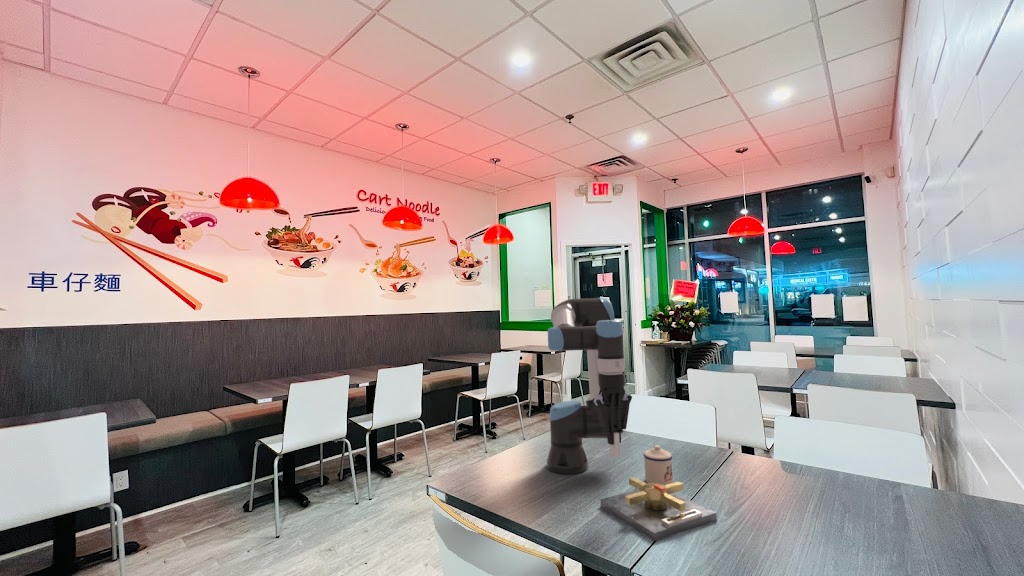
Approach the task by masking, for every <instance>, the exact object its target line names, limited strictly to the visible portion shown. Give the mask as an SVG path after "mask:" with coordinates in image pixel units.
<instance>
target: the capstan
mask: <svg viewBox="0 0 1024 576" xmlns="http://www.w3.org/2000/svg"><path fill="white" fill-rule="evenodd" d="M628 484H629V486H631V487H633V488H635V489H636V490H638V489H639V490H641V491H642V492H638V493H634V494H631V495H627V496H625V503H627V504H629V505H632V504H636V503H639V502H643V501H645V506H646V507H648V508H650V509H653V510H663V509H666V508H667V504H668V505H670V506H672V507H674V508H676V509H677V510H679V511H683V510H686V508H685V502H683V501H681V500H679V499H677V498H675V497H673V496H671V495H669V494H671V493H678V492H681V491H684V483H683V482H681V481H675V482H672V483H671V484H667V485H662V484H658V483H647V482H645V481H642V480H640V479H638V478H636V477H634V476H633V477H630V478H628Z"/></svg>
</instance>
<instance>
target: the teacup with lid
mask: <svg viewBox="0 0 1024 576" xmlns="http://www.w3.org/2000/svg"><path fill="white" fill-rule="evenodd" d="M653 447H654V448H653ZM653 447H652V448H651V449H648V450H647V449H646V450H645V451H644V452H643V457H644V475H645V476H644V478H645V483H646V484H647V483H658V484H662V485H667V484H671V483H674V481H673V462H672V461H673V460H672V458H673V456H672V454H671V452H669V451H667V450H665V449H663V448H661V446H660V445H654V446H653Z"/></svg>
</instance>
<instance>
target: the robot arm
mask: <svg viewBox="0 0 1024 576" xmlns="http://www.w3.org/2000/svg"><path fill="white" fill-rule="evenodd" d="M551 310H552V311H551V314H550V321H551V324H552V325H553V327H552V326H551V327H549V328H547V347H548V350H549V351H555V352H556V351H558V352H564V351H566V352H567V351H568V352H569V351H586V354H587V357H586V358H587V370H588V371H587V372H588V385H589V387H588V388H589V397H588V398H587V399H586V401H585V404H586V405H582V403H581V402H580V401H579V400H578V401H577V400H568V401H567V400H566V401H561V402H558V403H555V404H553V405H552V406H551V407H550V408H549V421H550V423H549V425H550V426H549V427H550V448H549V451H548V456H547V459H546V468H547V470H549V471H551V472H553V473H557V474H563V475H574V474H580V473H583V472H586V471H587V470H588V469H589V461H588V460H589V459H588V457H587V455H586V452H585V449H584V446H583V439H607V443H608V444H609V455H611V456H613V457H615V458H618V457H621V447H620V446H621V445H620V444H621V443H622V434H623V433H624V430H626V429H627V428H628V427H627V426H628V418H629V414H630V413H629V412H630V404H631V402H632V399H633V396H632V394H628V393H626V389H625V386H626V379H625V377H626V374H624V372H625V359H624V358H625V355H624V330H623V323H622V321H621V320H620V319H615V312H614V307H613V304H612V302H611V300H610V299H609V298H606V297H593V298H589V297H588V298H571V299H565V300H563V301H562V302H559V303H558V304H557V305H555V306H554V307H553V309H551Z"/></svg>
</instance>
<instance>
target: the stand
mask: <svg viewBox="0 0 1024 576" xmlns="http://www.w3.org/2000/svg"><path fill="white" fill-rule="evenodd" d="M638 492H642V491H641V490H639V489H634V490H630V491H627V492H623V493H620V494H619V493H618V494H616V495H613V496H609V497H604V498H601V499H600V507H601V508H603V510H605V511H606V512H608V513H610V514H612V515H613V516H615V517H616V518H618V519H620V520H621V521H623V522H624V523H626V524H627V525H629V526H630V527H631V528H633V529H635V530H636V531H638V532H640V533H642V534H643V535H644V536H646V537H648V538H649V539H651V540H652V541H654V542H657V541H661V540H663V539H667V538H668V537H672V536H675V535H678V534H680V533H684V532H687V531H689V530H692V529H695V528H698V527H701V526H704V525H707V524H709V523H712V522H716V521H717V512H716V511H713V510H711V509H709V508H707V507H705V506H703V505H701V504H699V503H697V502H694V501H693V500H690V499H688V498H686V497H684V496H682V495H680V494H678V493H677V492H674V493H671V494H669V495H671V496H673V497H675V498H677V499H679V500H681V501H683V502H685V508H686V510H683V511H679V510H677V509H676V508H674V507H672V506H670V505H668V504H667V508H666V509H663V510H653V509H650V508H648V507H646V506H645V501H643V502H639V503H636V504H632V505H629V504H627V503H625V496H627V495H631V494H634V493H638Z"/></svg>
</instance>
